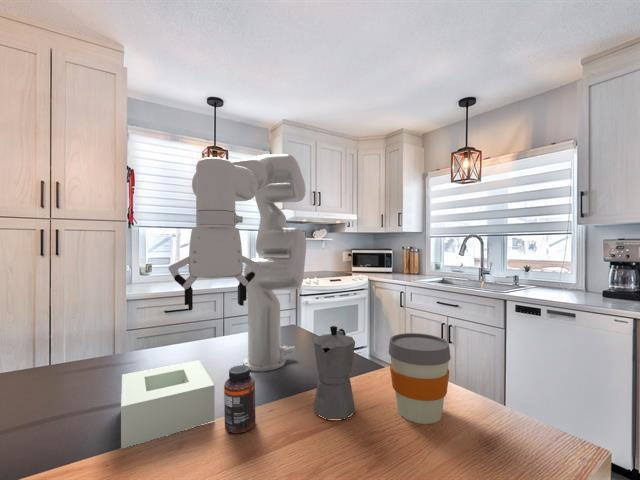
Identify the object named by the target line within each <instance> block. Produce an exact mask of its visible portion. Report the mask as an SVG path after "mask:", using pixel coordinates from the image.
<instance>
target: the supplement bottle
mask: <svg viewBox="0 0 640 480" xmlns="http://www.w3.org/2000/svg"><path fill="white" fill-rule="evenodd" d="M250 374H251V370H250V368H249V367H248V366H245V365H243V364H241V365H235V366H232V367H231V368H230V369H228V377H229V378H228V379H227V380H225V383H224V386H223V395H224V396H223V400H224V401H223V404H224V405H223V406H224V407H223V408H224V428H226V429H225V430H226V432H228V431H229V432H228V433H230V432H232V433H231V434H242V433H241V432H243V433H246V432H248V431H250V430H252V428H254V426H255V425H256V418H257V417H256V381H255V379H254V377H252V376H251V375H250ZM245 431H246V432H245Z"/></svg>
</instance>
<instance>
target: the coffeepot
mask: <svg viewBox="0 0 640 480" xmlns="http://www.w3.org/2000/svg"><path fill="white" fill-rule="evenodd" d="M329 329H330V333H329V334H327V333H326V334H322V335H319V336H316V337H313V338H312V342H313V347H314V354H315V361H316V368H317V373H318V378H317V381H316V382H317V383H316V389H315V394H314V395H315V397H314V402H313V410H314V409H315V411H314V414H315V415H316V414H317V415H320V416H322V417H324V418H326V419H344V418H347V417H348V416H350V415H351V414H352V413H353V414H354V413H356V412H355V411H356V405H355V399H354V396H353V395H354V394H353V388H352V382H351V378H350V374H351V373H352V369H353V361H354V354H355V347H356V341H355V339H354V337H353V336H349V335H347V334H346V332H345V330H344V329H343V328H339V329H338V326H335V325H331V326H330V327H329ZM317 415H316V416H317ZM347 419H348V418H347Z"/></svg>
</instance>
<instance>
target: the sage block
mask: <svg viewBox="0 0 640 480" xmlns="http://www.w3.org/2000/svg"><path fill="white" fill-rule="evenodd" d="M215 394H216V393H215V384H214V382H213V379H211V377H210V375H209V374H208V372H207V370H206V369H205V367H204V366H203V364H202V362H201V361H200V360H199V359H197V360H194V361H193V360H191V361H186V362H182V363H175V364H170V365H165V366H160V367H156V368H150V369H144V370H138V371H134V372H129V373H123V374H121V396H120V399H121V401H120V436H121V437H120V449H121V450H123V449H122V448H124V449H127V448H126V447H128V448H130V447H129V446H131V447H134V446H133V445H135V446H137V445H136V444H138V445H141V444H140V443H142V444H144V443H143V442H145V443H147V442H146V441H148V442H151V441H150V440H152V441H154V440H153V439H155V440H157V439H156V438H159V437H162V438H164V437H163V436H166V435H169V436H171V435H170V434H173V433H176V432H179V433H181V432H180V431H182V430H185V429H189V428H192V427H195V426H198V425H201V424H205V423H208V422H211V421H214V420H215V419H216V416H215V415H216V413H215V409H216V408H215V406H216V405H215V403H216V402H215V401H216V400H215V398H216V397H215ZM176 434H177V433H176ZM173 435H174V434H173ZM166 437H167V436H166ZM159 439H160V438H159Z"/></svg>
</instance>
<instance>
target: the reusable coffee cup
mask: <svg viewBox="0 0 640 480" xmlns="http://www.w3.org/2000/svg"><path fill="white" fill-rule="evenodd" d="M388 355H389V356H390V361H391V363H390V364H389V370H390V377H391V385H392V389H393V390H394V392H395V400H396V408H397V413H398V414H399V416H401V417H402V416H403V417H404V419H405V420H406V421H409V422H412V423H416V424H421V425H428V424H429V425H430V424H435V423H437V422H439V421H441V419H442V416H443V410H444V400H445V398H446V396H447V393H448V385H449V377H450V369H448V367H449V361H451V350H450V343H449V342H448V340H446V339H444V338H442V337H439V336H436V335H432V334H427V333H418V332H413V333H412V332H407V333H406V332H405V333H398V334H394V335H393V336H390V338H389V345H388ZM403 417H402V418H403Z"/></svg>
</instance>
